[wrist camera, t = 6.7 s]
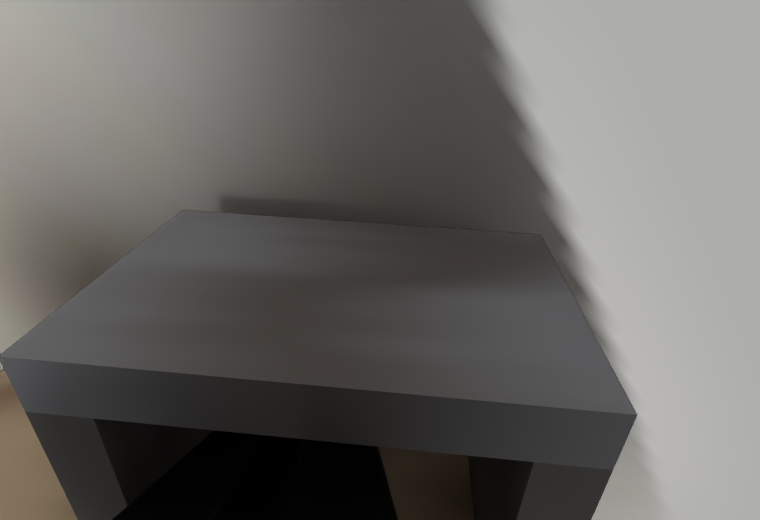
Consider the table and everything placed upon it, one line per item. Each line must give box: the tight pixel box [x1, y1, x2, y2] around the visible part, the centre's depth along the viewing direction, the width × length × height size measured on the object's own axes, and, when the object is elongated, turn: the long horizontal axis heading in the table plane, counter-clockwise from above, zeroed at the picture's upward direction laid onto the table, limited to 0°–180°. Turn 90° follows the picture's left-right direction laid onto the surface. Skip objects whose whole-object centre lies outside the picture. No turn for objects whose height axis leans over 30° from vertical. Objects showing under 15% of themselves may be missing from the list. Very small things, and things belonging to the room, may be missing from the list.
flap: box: [0, 210, 637, 520], centre depth 8 cm, size 11×5×5 cm, turn 88°
